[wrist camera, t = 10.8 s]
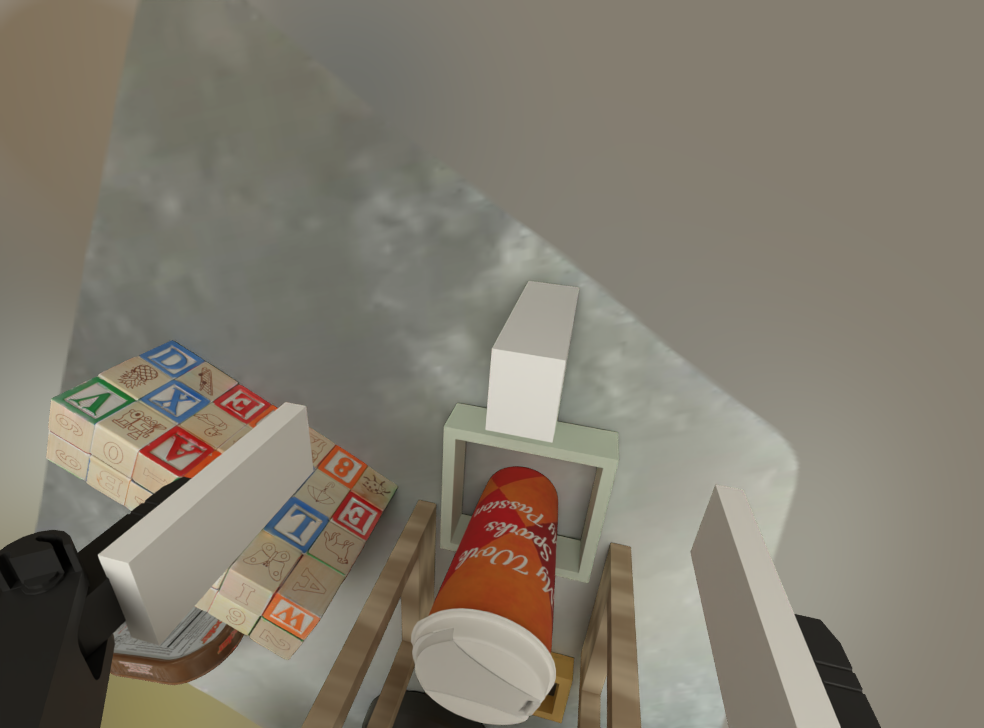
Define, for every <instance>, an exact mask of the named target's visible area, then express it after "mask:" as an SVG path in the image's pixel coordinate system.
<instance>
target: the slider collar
mask: <svg viewBox="0 0 984 728" xmlns="http://www.w3.org/2000/svg"><path fill="white" fill-rule="evenodd" d="M578 293H579V287H571V286H564V285H557V284H550V283H542V282H535V281H528V283H527V285H526V286H525V288H524V290H523V292H522V294H521V296H520V298H519V299H518V301H517V303H516V305H515V307H514V309H513V311H512V312H511V314H510V316H509V318H508V320H507V322H506V324H505V325H504V327H503V329H502V331H501V333H500V335H499V336H498V338H497V340H496V342H495V344H494V346H493V348H492V355H491V367H490V379H489V391H488V403H487V408H482V407H476V406H471V405H466V404H460V403H457V404H456V406H455V408H454V409H453V411H452V413H451V415H450V417H449V418H448V420H447V422H446V424H445V425H444V440H443V471H442V502H441V532H440V548H442V549H446V550H450V551H455V552H456V551H457V549H458V547H459V544H460V542H461V540H462V538H463V535H464V533H465V531H466V529H467V526H468V524H469V522H470V520H471V517H472V516H468V515H464V514H462V499H463V482H464V466H465V449H466V441H469V442H474V443H479V444H484V445H489V446H494V447H499V448H504V449H509V450H514V451H519V452H524V453H529V454H534V455H540V456H545V457H550V458H555V459H560V460H565V461H570V462H575V463H580V464H585V465H590V466H595V467H597V472H596V476H595V480H594V485H593V489H592V494H591V498H590V502H589V507H588V511H587V516H586V520H585V525H584V529H583V533H582V538H581V541H580V540H575V539H571V538H566V537H562V536H557V548H556V569H555V576H560V577H564V578H568V579H572V580H576V581H580V582H585V583H588V582H589V578H590V574H591V570H592V566H593V562H594V558H595V554H596V550H597V546H598V542H599V538H600V534H601V530H602V526H603V522H604V518H605V514H606V510H607V506H608V502H609V498H610V494H611V490H612V486H613V482H614V478H615V474H616V470H617V466H618V462H619V446H618V433H617V432H612V431H606V430H601V429H596V428H590V427H585V426H579V425H574V424H568V423H563V422H558V421H557V420H558V414H559V408H560V402H561V395H562V389H563V383H564V377H565V371H566V365H567V359H568V353H569V347H570V341H571V335H572V329H573V323H574V317H575V311H576V305H577V299H578Z"/></svg>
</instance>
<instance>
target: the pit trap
mask: <svg viewBox="0 0 984 728" xmlns="http://www.w3.org/2000/svg"><path fill="white" fill-rule="evenodd" d="M551 656H552V658H553V660H554V663H555V667H556V679H555V682H554V685H553V687H552V689H551V690H550V691H549V693H548V694H547V695H546V697H545V699H544V700H543V701H542V703H541V705H540V706H539V707H538V709H537V710H536V711H535V712H534V713H533V714H532V715H534V716H538V717H541V718H545V719H548V720H552V721H555V722H559V723H561V722H562V718H563V715H564V711H565V707H566V703H567V700H568V696H569V692H570V688H571V685H572V681H573V666H574V658H572V657H568V656H564V655H561V654H557V653H553V652H551Z"/></svg>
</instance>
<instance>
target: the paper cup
mask: <svg viewBox="0 0 984 728" xmlns="http://www.w3.org/2000/svg"><path fill="white" fill-rule="evenodd" d="M557 525H558V497H557V492H556V490H555V487H554V486H553V484H552V483H551V482H550V480H549V479H548V478H546V477H545V476H544V475H542V474H541V473H539V472H537V471H535V470H533V469H530V468H526V467H518V466H515V467H507V468H504V469H501V470H499V471H498V472H496V473H495V474H494V475H493V476H492V477H491V478H490V480H489V481H488V483H487V485H486V487H485V489H484V491H483V493H482V495H481V497H480V500H479V502H478V504H477V506H476V508H475V511H474V513H473V515H472V517H471V520H470V522H469V524H468V526H467V529H466V531H465V533H464V535H463V538H462V540H461V542H460V544H459V547H458V549H457V551H456V554H455V556H454V558H453V560H452V563H451V565H450V567H449V570H448V572H447V574H446V576H445V579H444V581H443V583H442V585H441V588H440V590H439V592H438V595H437V597H436V599H435V601H434V604H433V606H432V608H431V611H430V613H429V615H428V617H426V618H424V619H422V620H420V621H418V622H417V623H416V625H415V626H414V628H413V631H412V634H411V643H412V645H413V650H412V655H413V659H414V663H415V672H416V676H417V678H418V680H419V682H420V684H421V686H422V688H423V689H424V691H425V692H426V693H427V694H428V695H429V696H430V697H431V698H432V699H433V700H434V701H436V702H437V703H438V704H440V705H441V706H443V707H444V708H446V709H447V710H449V711H451V712H453V713H455V714H457V715H460V716H462V717H464V718H467V719H470V720H473V721H477V722H481V723H486V724H493V725H512V724H517V723H521V722H524V721H526V720H527V719H528V717H529V716H531V715H532V714H533V713H534V712H535V711H536V710H537V709H538V707H539V706H540V705H541V703H542V701H543V700H544V699H545V697H546V695H547V694H548V693H549V691H550V690H551V689H552V687H553V685H554V682H555V679H556V667H555V663H554V660H553V658H552V656H551V646H552V631H553V613H554V588H555V569H556V548H557Z"/></svg>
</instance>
